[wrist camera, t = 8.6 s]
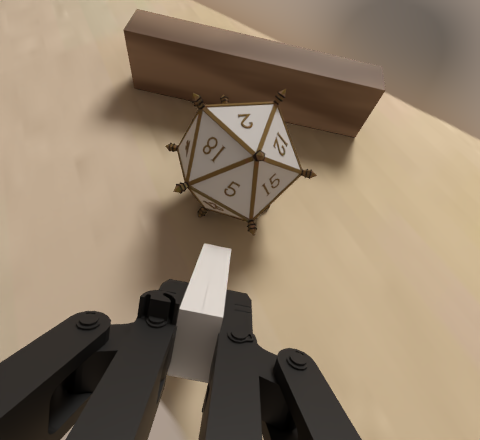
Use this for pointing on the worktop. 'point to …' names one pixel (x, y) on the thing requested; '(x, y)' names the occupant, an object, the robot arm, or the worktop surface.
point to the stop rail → (251, 72)
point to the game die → (238, 157)
